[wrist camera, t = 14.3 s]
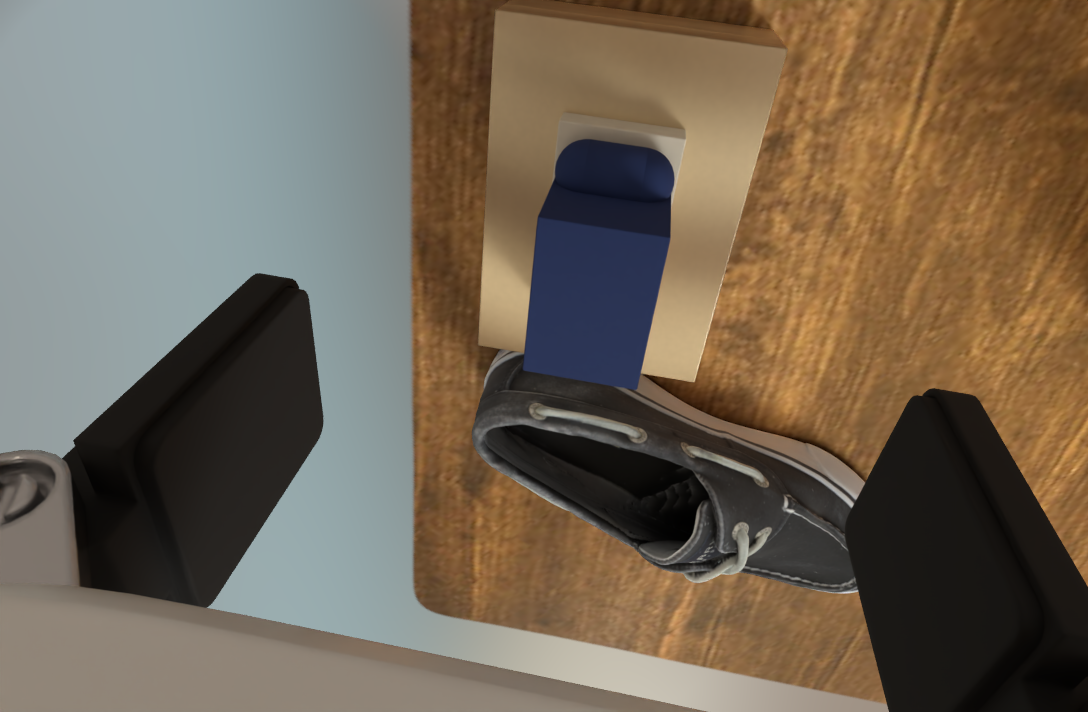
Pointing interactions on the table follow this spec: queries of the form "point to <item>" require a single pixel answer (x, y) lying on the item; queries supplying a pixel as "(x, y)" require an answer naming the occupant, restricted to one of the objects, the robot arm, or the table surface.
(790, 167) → the table surface
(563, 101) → the shoe shelf
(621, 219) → the high-top sneaker
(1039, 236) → the table surface
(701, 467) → the boat shoe
